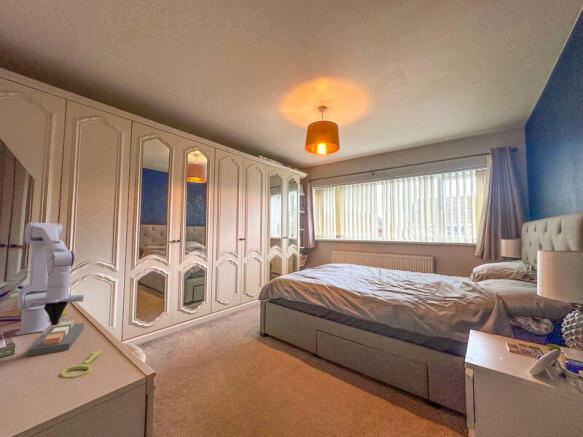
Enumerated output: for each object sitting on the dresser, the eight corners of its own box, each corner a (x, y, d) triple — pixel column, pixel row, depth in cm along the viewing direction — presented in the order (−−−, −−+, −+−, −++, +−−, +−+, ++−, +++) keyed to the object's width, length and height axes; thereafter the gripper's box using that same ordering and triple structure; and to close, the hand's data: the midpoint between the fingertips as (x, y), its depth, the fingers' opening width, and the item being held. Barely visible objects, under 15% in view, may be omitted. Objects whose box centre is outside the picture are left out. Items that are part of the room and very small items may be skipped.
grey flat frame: (51, 332, 94) (51, 326, 94) (83, 328, 99) (84, 322, 99) (27, 356, 77) (28, 349, 77) (68, 349, 82) (69, 343, 82)
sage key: (60, 328, 94) (61, 322, 95) (73, 326, 96) (74, 320, 97) (56, 331, 91) (57, 325, 91) (70, 330, 93) (71, 323, 93)
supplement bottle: (66, 315, 112) (68, 295, 112) (63, 319, 107) (65, 298, 108) (51, 317, 109) (52, 296, 109) (47, 321, 104) (49, 299, 105)
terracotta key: (47, 341, 83) (48, 334, 83) (62, 339, 85) (63, 332, 85) (43, 346, 80) (43, 339, 80) (59, 344, 82) (59, 337, 82)
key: (101, 355, 80) (101, 349, 80) (88, 376, 69) (88, 369, 69) (73, 360, 77) (74, 353, 77) (55, 382, 65) (56, 375, 66)
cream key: (54, 334, 89) (55, 328, 89) (68, 332, 91) (69, 326, 91) (50, 338, 85) (51, 332, 86) (65, 336, 87) (65, 330, 88)
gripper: (23, 289, 76) (19, 332, 76) (82, 285, 84) (78, 324, 83) (33, 285, 83) (29, 324, 82) (87, 281, 90) (84, 318, 89)
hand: (55, 324), depth 83 cm, fingers closed
